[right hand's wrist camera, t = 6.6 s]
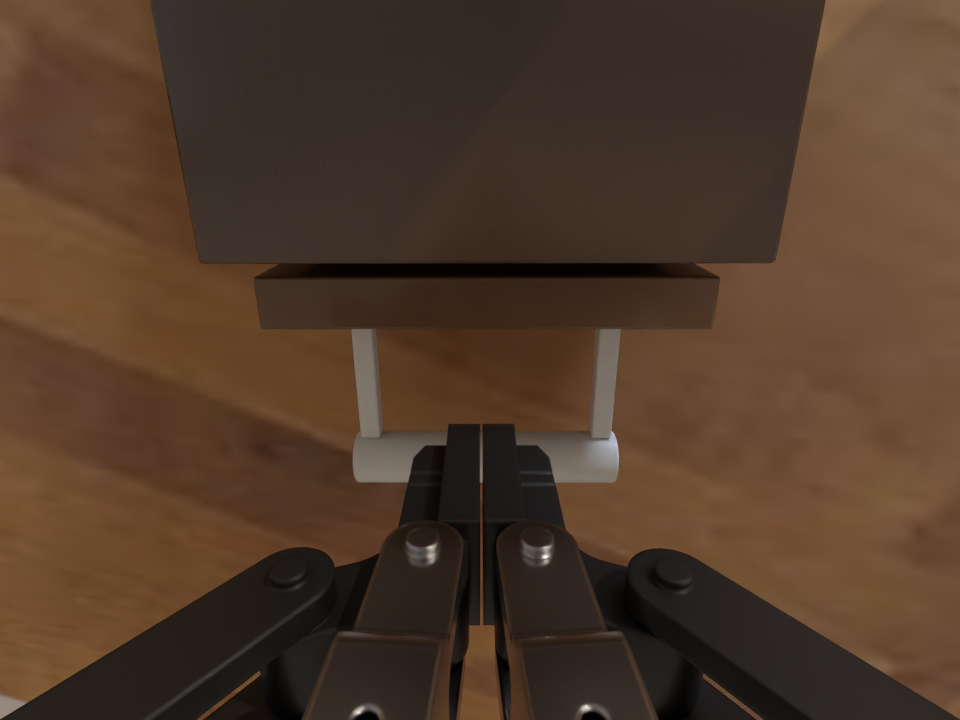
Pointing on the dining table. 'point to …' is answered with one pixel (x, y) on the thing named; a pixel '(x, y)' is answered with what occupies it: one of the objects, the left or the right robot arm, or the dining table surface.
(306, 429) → the dining table surface
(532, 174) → the dark wooden box
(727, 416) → the dining table surface
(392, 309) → the drawer
